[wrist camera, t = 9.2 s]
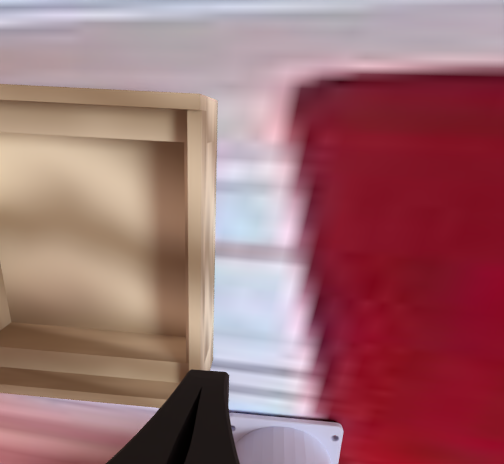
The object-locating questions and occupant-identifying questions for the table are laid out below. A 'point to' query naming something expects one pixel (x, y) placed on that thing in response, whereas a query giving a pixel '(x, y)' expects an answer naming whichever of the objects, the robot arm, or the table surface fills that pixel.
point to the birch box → (105, 242)
